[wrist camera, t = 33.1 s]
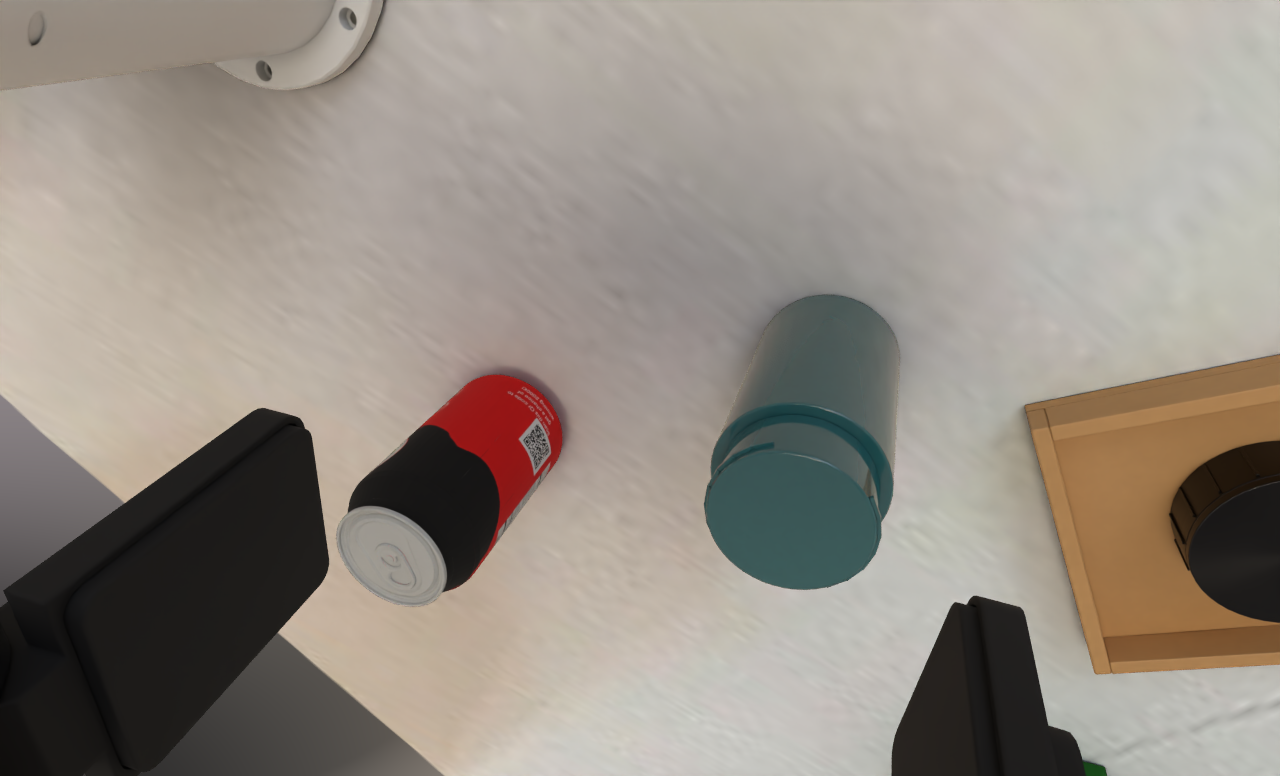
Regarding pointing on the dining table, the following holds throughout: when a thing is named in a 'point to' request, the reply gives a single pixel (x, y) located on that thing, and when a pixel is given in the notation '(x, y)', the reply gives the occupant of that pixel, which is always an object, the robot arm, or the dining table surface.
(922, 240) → the dining table surface
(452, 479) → the beverage can
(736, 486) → the jar
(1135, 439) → the tray
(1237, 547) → the lid
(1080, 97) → the dining table surface
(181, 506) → the robot arm
